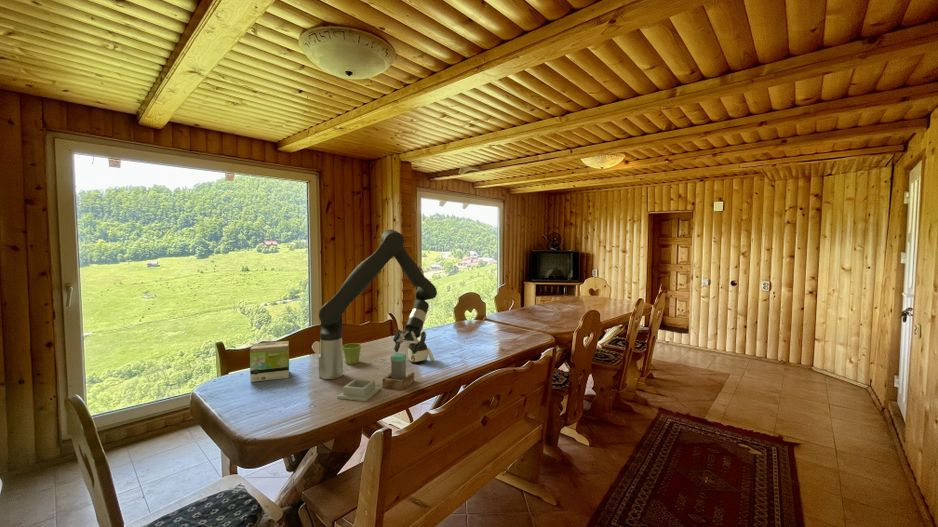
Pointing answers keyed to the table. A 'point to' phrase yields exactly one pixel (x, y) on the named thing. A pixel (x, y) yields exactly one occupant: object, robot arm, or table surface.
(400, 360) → the plug
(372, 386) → the port block
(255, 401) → the table surface
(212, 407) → the table surface
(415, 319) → the robot arm
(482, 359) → the table surface
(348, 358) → the plant pot
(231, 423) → the table surface
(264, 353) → the tea box
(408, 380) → the cradle
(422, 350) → the spread jar
